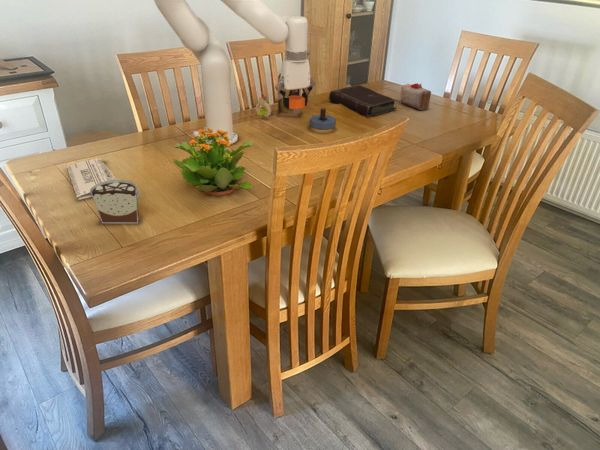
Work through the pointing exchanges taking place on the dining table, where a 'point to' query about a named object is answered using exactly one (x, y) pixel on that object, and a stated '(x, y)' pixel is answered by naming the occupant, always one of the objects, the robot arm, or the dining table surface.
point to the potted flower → (213, 164)
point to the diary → (363, 100)
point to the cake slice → (116, 201)
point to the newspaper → (88, 176)
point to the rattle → (263, 103)
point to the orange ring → (296, 102)
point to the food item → (415, 96)
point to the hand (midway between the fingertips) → (295, 105)
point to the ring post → (322, 116)
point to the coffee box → (280, 100)
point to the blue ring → (322, 122)
